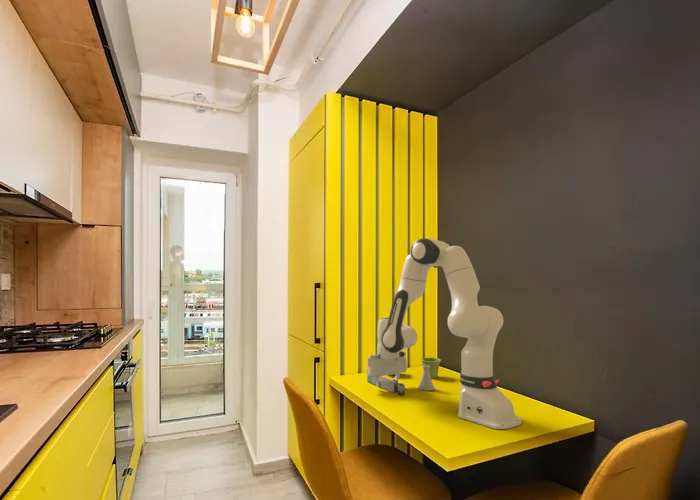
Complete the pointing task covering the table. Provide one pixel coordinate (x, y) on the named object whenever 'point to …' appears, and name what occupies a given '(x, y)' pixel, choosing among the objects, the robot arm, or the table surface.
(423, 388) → the flask
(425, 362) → the plant pot
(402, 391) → the tong pivot
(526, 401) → the table surface
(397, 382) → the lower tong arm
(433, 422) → the table surface
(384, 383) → the upper tong arm
